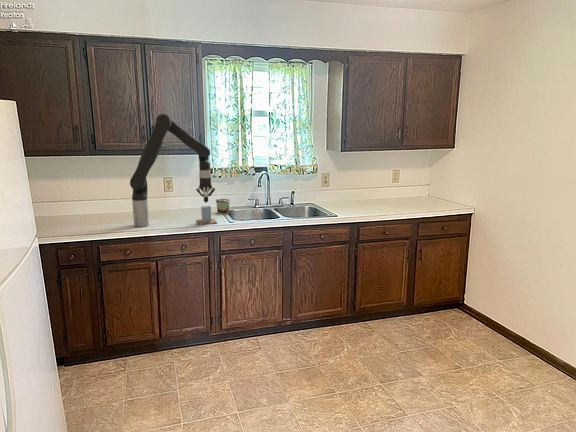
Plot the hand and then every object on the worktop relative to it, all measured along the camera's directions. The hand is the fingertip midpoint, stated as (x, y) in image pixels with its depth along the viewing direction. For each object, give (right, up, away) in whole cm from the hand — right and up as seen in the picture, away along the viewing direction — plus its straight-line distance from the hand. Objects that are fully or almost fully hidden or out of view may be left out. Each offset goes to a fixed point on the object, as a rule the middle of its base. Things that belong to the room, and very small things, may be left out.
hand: (206, 202), depth 293 cm
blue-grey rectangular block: (0, -13, +3) cm, 13 cm away
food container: (+8, -7, +33) cm, 35 cm away
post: (0, -13, +3) cm, 14 cm away
